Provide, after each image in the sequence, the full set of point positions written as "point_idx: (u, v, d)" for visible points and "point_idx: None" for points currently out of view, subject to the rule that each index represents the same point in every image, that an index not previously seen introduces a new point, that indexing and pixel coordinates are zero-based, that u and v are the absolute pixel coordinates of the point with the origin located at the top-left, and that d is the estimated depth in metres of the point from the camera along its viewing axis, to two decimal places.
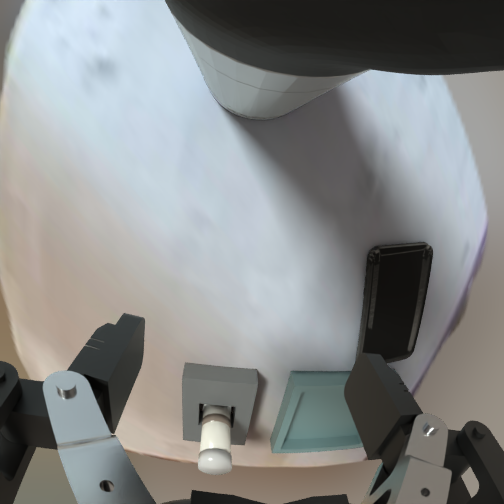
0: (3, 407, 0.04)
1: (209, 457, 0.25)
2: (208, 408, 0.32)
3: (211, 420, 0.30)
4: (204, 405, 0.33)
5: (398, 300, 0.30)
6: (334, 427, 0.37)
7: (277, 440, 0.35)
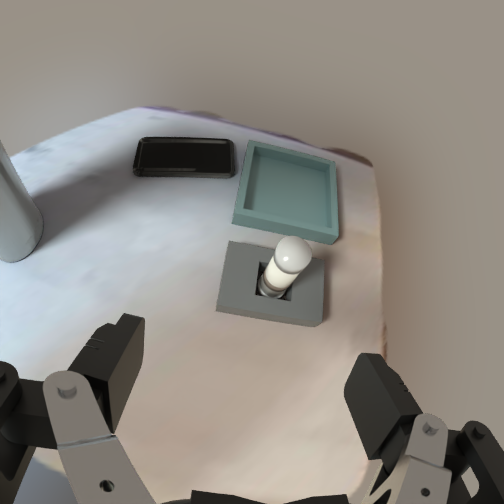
0: (3, 407, 0.04)
1: (277, 255, 0.29)
2: (263, 288, 0.35)
3: (265, 276, 0.33)
4: (266, 295, 0.36)
5: (176, 154, 0.44)
6: (310, 189, 0.45)
7: (315, 229, 0.40)
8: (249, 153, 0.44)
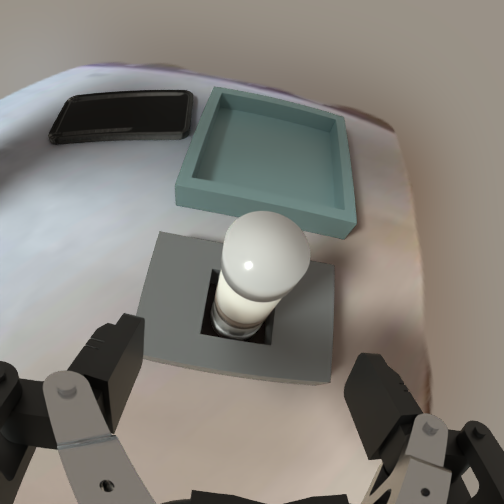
0: (3, 407, 0.04)
1: (224, 257, 0.12)
2: (217, 320, 0.18)
3: (216, 300, 0.16)
4: (224, 332, 0.19)
5: (109, 111, 0.27)
6: (308, 154, 0.28)
7: (317, 212, 0.23)
8: (212, 101, 0.27)
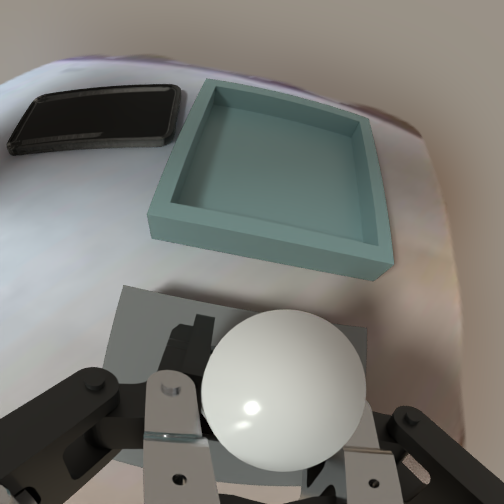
0: (92, 415, 0.05)
1: (204, 410, 0.05)
2: None
3: None
4: None
5: (78, 112, 0.21)
6: (327, 165, 0.22)
7: (344, 251, 0.16)
8: (203, 96, 0.21)
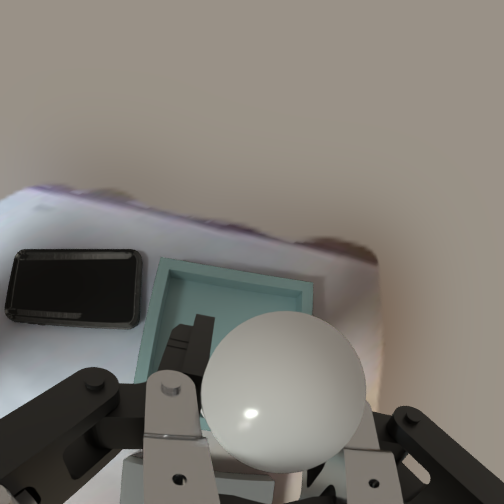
0: (92, 415, 0.05)
1: (204, 411, 0.05)
2: None
3: None
4: None
5: (57, 283, 0.26)
6: None
7: None
8: (158, 287, 0.26)
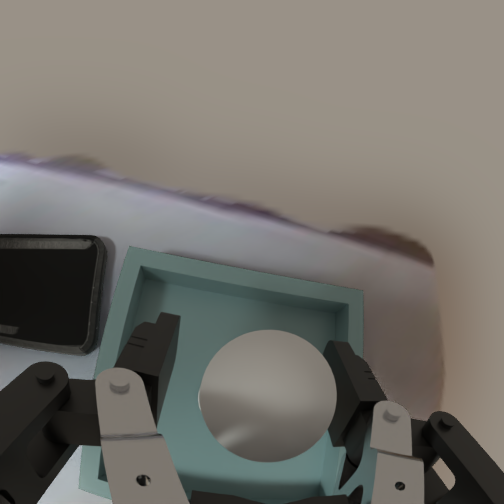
0: (47, 408, 0.05)
1: (201, 411, 0.07)
2: None
3: None
4: None
5: None
6: None
7: None
8: (121, 293, 0.15)
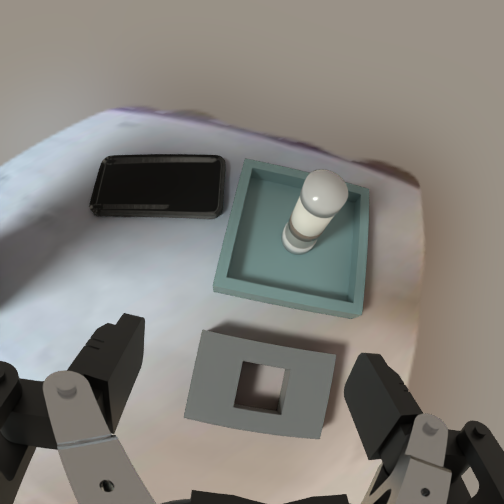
0: (3, 407, 0.04)
1: (304, 192, 0.22)
2: (289, 236, 0.29)
3: (291, 221, 0.27)
4: (292, 246, 0.29)
5: (145, 181, 0.32)
6: (331, 233, 0.32)
7: (329, 307, 0.27)
8: (243, 180, 0.31)
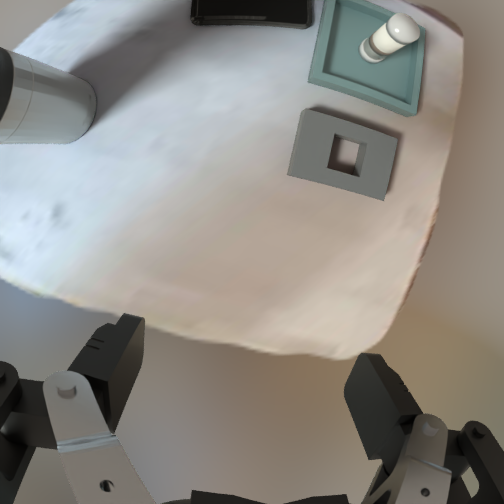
0: (3, 407, 0.04)
1: (390, 25, 0.22)
2: (367, 50, 0.29)
3: (372, 40, 0.27)
4: (368, 56, 0.30)
5: None
6: (395, 52, 0.31)
7: (394, 104, 0.31)
8: (330, 4, 0.27)
